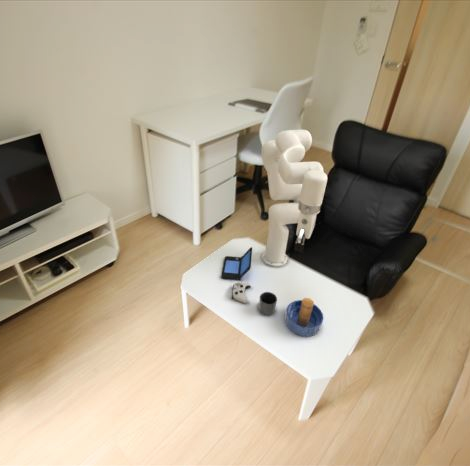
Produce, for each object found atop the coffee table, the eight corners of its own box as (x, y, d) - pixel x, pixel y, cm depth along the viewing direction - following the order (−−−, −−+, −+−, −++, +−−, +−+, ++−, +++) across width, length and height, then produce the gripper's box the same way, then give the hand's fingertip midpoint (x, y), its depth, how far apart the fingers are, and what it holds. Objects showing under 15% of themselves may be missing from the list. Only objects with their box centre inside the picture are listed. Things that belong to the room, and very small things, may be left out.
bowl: (289, 304, 135) (291, 295, 132) (323, 316, 130) (326, 307, 126) (280, 329, 125) (282, 320, 122) (316, 343, 120) (319, 334, 117)
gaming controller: (249, 303, 134) (238, 294, 132) (238, 309, 138) (228, 299, 136) (252, 285, 143) (241, 275, 141) (241, 290, 146) (231, 281, 144)
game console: (224, 257, 160) (225, 243, 155) (251, 260, 158) (252, 246, 153) (220, 279, 148) (221, 264, 142) (249, 282, 146) (250, 267, 140)
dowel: (298, 316, 129) (303, 296, 122) (309, 320, 128) (315, 300, 121) (295, 324, 126) (300, 304, 119) (306, 328, 125) (312, 308, 117)
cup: (261, 301, 137) (263, 289, 133) (277, 306, 134) (279, 295, 130) (256, 312, 132) (257, 301, 128) (272, 318, 129) (274, 307, 125)
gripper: (315, 220, 102) (306, 260, 113) (325, 196, 115) (316, 234, 125) (292, 215, 105) (285, 254, 116) (304, 192, 117) (297, 229, 128)
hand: (301, 243), depth 120 cm, fingers open, 9 cm apart
